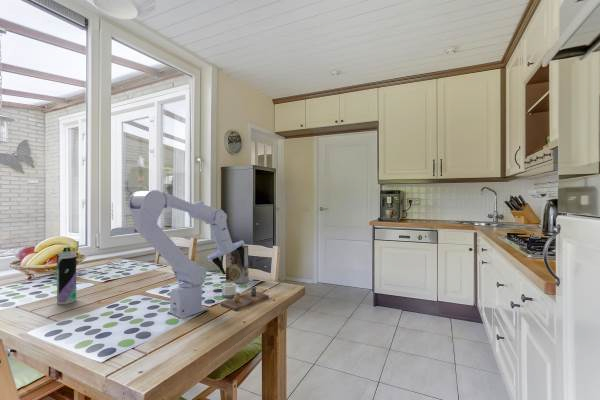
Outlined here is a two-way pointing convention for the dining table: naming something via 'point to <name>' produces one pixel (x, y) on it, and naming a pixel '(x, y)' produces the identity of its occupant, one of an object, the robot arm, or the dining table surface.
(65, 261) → the black purple carton
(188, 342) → the dining table surface
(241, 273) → the coffee box
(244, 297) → the pin board
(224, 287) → the sleeve
